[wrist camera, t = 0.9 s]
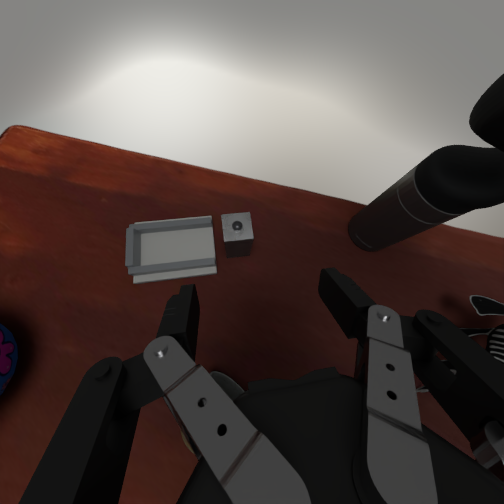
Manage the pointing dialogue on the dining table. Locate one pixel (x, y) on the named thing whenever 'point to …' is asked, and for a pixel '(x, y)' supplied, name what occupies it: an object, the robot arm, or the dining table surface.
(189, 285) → the robot arm
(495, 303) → the decorative fish
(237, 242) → the aluminium block
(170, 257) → the grey open box
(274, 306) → the dining table surface
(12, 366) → the ceramic pot
